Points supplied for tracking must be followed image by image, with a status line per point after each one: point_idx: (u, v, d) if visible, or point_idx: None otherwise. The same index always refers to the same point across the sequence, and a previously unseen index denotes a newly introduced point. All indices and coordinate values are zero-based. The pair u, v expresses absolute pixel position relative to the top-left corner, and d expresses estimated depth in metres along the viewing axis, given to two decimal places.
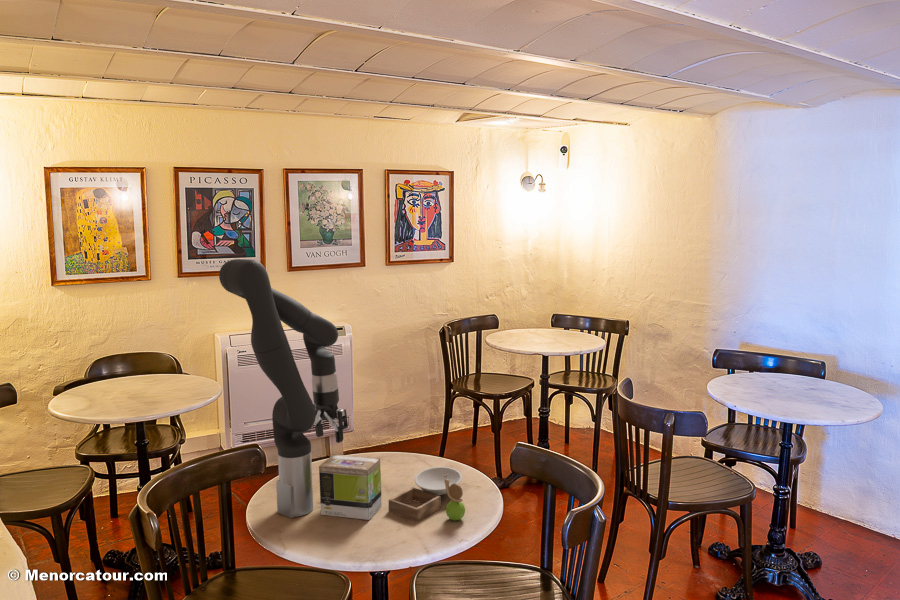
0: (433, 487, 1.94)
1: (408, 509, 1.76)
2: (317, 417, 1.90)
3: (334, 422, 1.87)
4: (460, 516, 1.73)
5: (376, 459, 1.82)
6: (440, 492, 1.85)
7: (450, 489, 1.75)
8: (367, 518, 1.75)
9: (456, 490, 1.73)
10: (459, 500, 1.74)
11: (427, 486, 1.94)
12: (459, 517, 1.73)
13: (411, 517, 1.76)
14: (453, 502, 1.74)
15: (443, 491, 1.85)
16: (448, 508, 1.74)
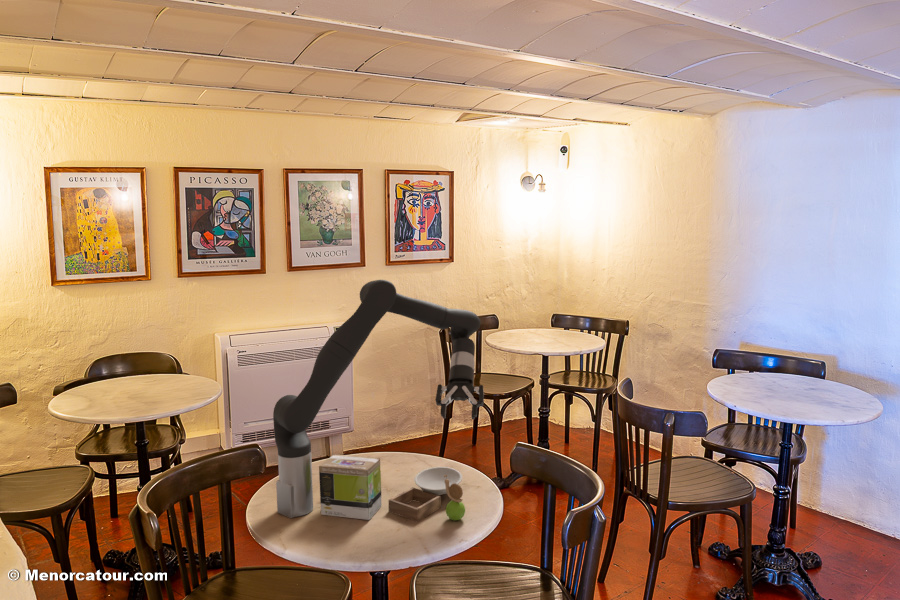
0: (433, 487, 1.94)
1: (408, 509, 1.76)
2: (450, 393, 1.88)
3: (472, 396, 1.87)
4: (460, 516, 1.73)
5: (376, 459, 1.82)
6: (440, 492, 1.85)
7: (450, 489, 1.75)
8: (367, 518, 1.75)
9: (456, 490, 1.73)
10: (459, 500, 1.74)
11: (427, 486, 1.94)
12: (459, 517, 1.73)
13: (411, 517, 1.76)
14: (453, 502, 1.74)
15: (443, 491, 1.85)
16: (448, 508, 1.74)
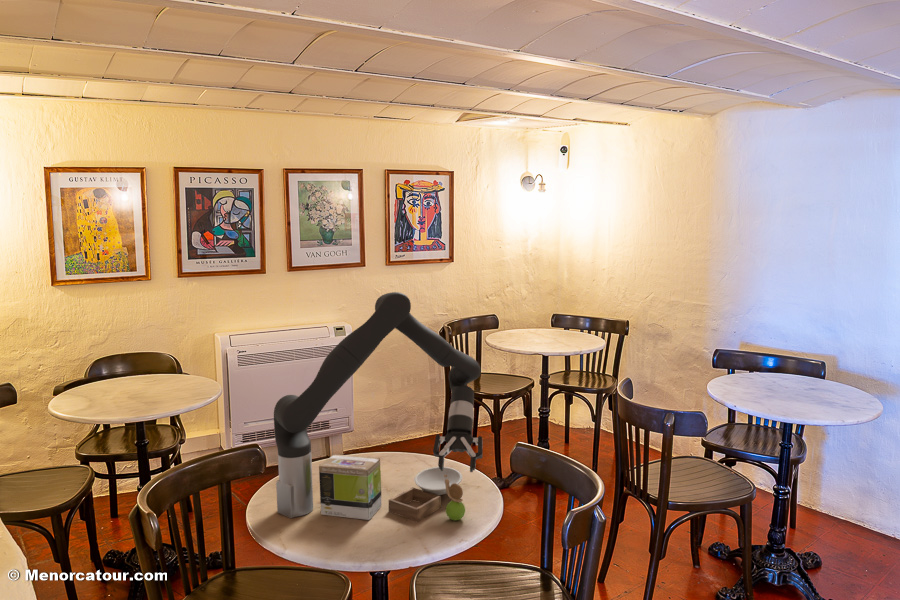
0: (433, 487, 1.94)
1: (408, 509, 1.76)
2: (448, 445, 1.84)
3: (471, 448, 1.83)
4: (460, 516, 1.73)
5: (376, 459, 1.82)
6: (440, 492, 1.85)
7: (450, 489, 1.75)
8: (367, 518, 1.75)
9: (456, 490, 1.73)
10: (459, 500, 1.74)
11: (427, 486, 1.94)
12: (459, 517, 1.73)
13: (411, 517, 1.76)
14: (453, 502, 1.74)
15: (443, 491, 1.85)
16: (448, 508, 1.74)
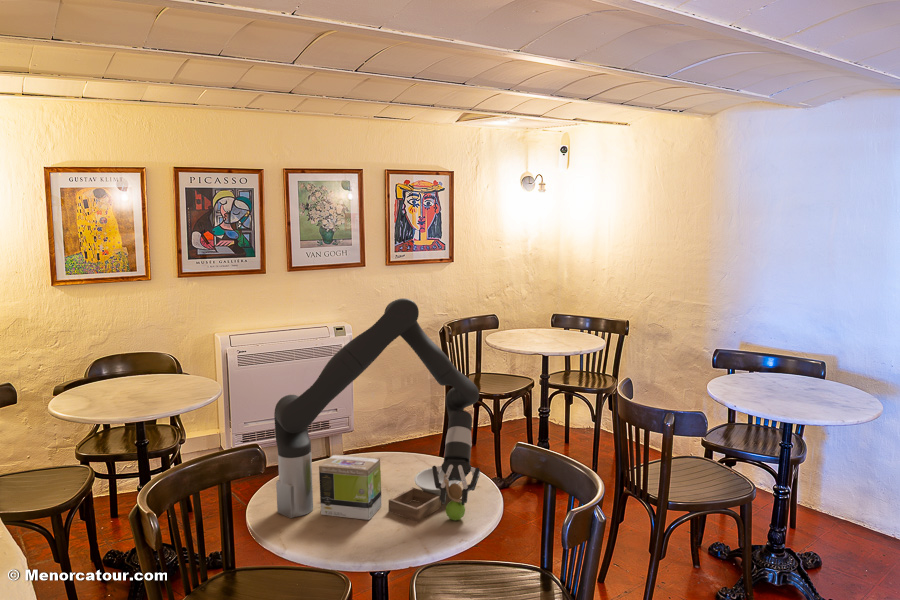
0: (433, 487, 1.94)
1: (408, 509, 1.76)
2: (447, 474, 1.77)
3: (465, 479, 1.76)
4: (460, 516, 1.73)
5: (376, 459, 1.82)
6: None
7: (450, 489, 1.75)
8: (367, 518, 1.75)
9: (456, 490, 1.73)
10: (459, 500, 1.74)
11: (427, 486, 1.94)
12: (459, 517, 1.73)
13: (411, 517, 1.76)
14: (453, 502, 1.74)
15: None
16: (448, 508, 1.74)
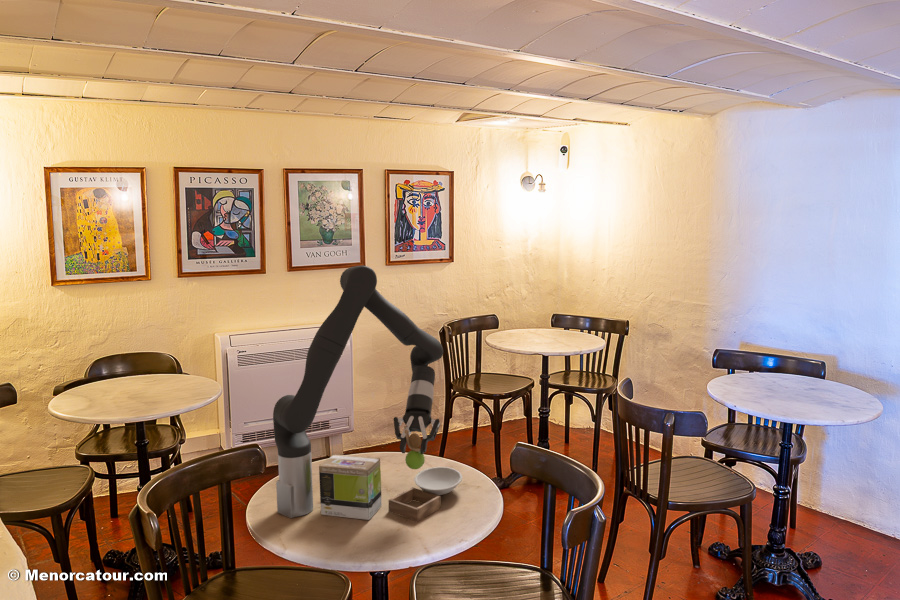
0: (433, 487, 1.94)
1: (408, 509, 1.76)
2: (408, 425, 1.81)
3: (425, 430, 1.80)
4: (419, 465, 1.77)
5: (376, 459, 1.82)
6: (440, 492, 1.85)
7: (409, 439, 1.79)
8: (367, 518, 1.75)
9: (415, 439, 1.77)
10: (418, 449, 1.78)
11: (427, 486, 1.94)
12: (418, 466, 1.77)
13: (411, 517, 1.76)
14: (412, 451, 1.78)
15: (443, 491, 1.85)
16: (407, 457, 1.78)
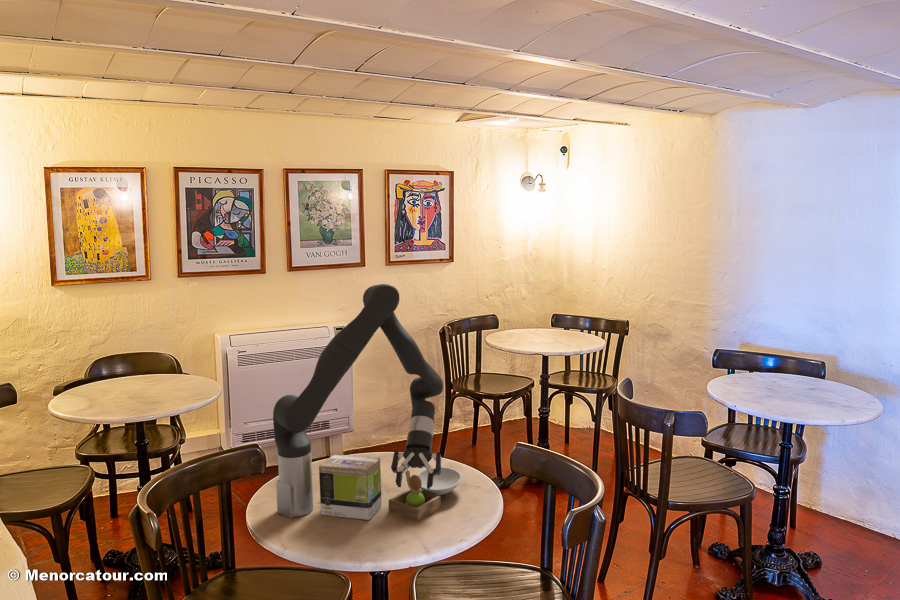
0: (433, 487, 1.94)
1: (408, 509, 1.76)
2: (406, 461, 1.83)
3: None
4: None
5: (376, 459, 1.82)
6: (440, 492, 1.85)
7: (410, 480, 1.81)
8: (367, 518, 1.75)
9: (415, 481, 1.79)
10: (418, 491, 1.80)
11: None
12: None
13: (411, 517, 1.76)
14: (413, 493, 1.80)
15: (443, 491, 1.85)
16: (407, 498, 1.80)
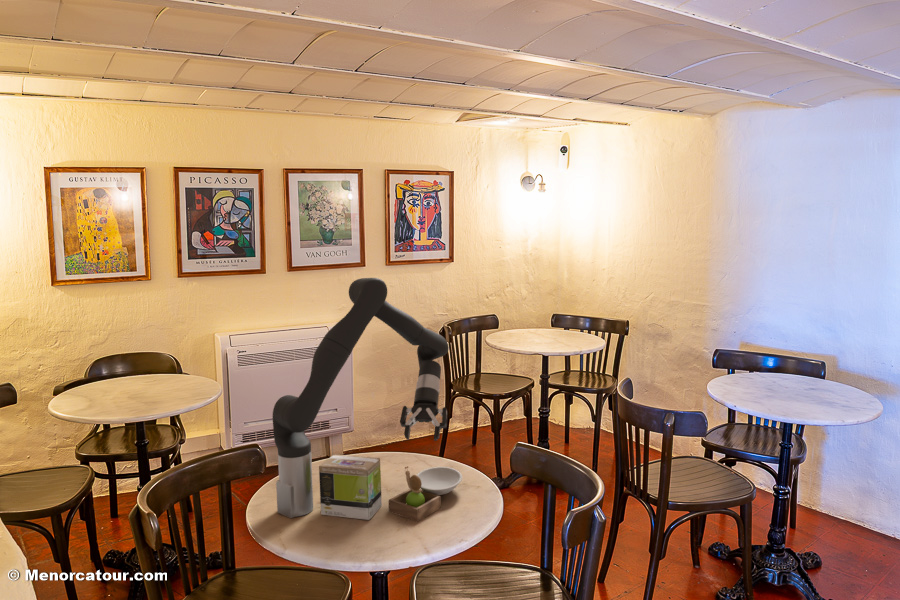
0: (433, 487, 1.94)
1: (408, 509, 1.76)
2: (414, 415, 1.94)
3: None
4: None
5: (376, 459, 1.82)
6: (440, 492, 1.85)
7: (410, 480, 1.81)
8: (367, 518, 1.75)
9: (415, 481, 1.79)
10: (418, 491, 1.80)
11: (427, 486, 1.94)
12: None
13: (411, 517, 1.76)
14: (413, 493, 1.80)
15: (443, 491, 1.85)
16: (407, 498, 1.80)
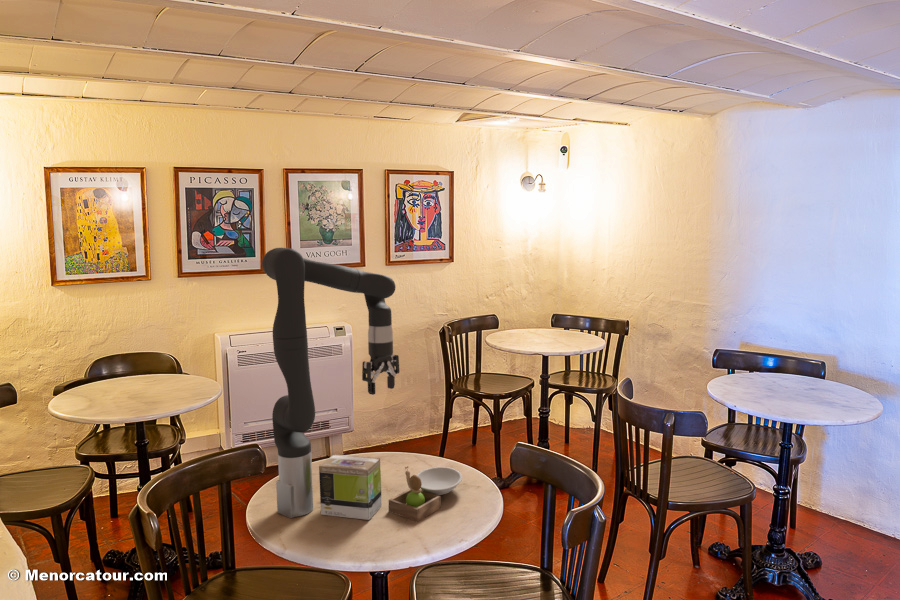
0: (433, 487, 1.94)
1: (408, 509, 1.76)
2: (379, 371, 1.92)
3: None
4: None
5: (376, 459, 1.82)
6: (440, 492, 1.85)
7: (410, 480, 1.81)
8: (367, 518, 1.75)
9: (415, 481, 1.79)
10: (418, 491, 1.80)
11: (427, 486, 1.94)
12: None
13: (411, 517, 1.76)
14: (413, 493, 1.80)
15: (443, 491, 1.85)
16: (408, 498, 1.80)
